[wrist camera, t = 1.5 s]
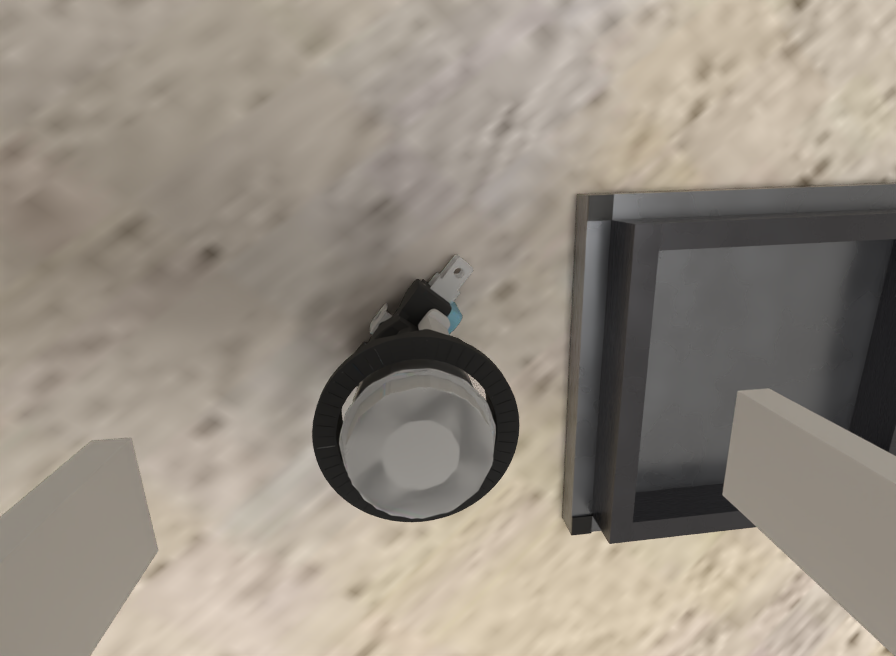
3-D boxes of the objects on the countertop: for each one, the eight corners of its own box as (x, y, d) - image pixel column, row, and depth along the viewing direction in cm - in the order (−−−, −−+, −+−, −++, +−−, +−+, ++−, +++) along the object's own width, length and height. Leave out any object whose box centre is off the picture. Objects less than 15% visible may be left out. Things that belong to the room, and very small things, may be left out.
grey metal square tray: (577, 194, 20) (610, 196, 17) (919, 182, 22) (1005, 182, 19) (562, 517, 25) (586, 564, 22) (845, 487, 27) (904, 526, 24)
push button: (412, 218, 20) (435, 254, 10) (510, 295, 21) (609, 388, 12) (318, 345, 21) (260, 482, 11) (417, 409, 22) (440, 580, 13)
